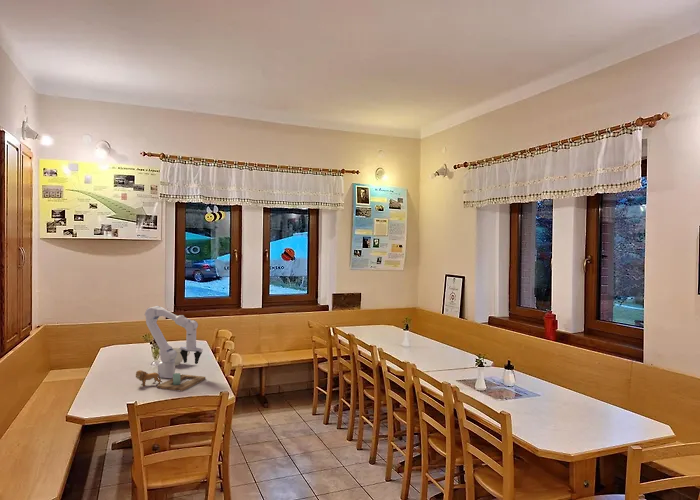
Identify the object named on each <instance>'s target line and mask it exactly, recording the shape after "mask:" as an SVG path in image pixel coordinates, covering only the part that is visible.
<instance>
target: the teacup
mask: <svg viewBox="0 0 700 500" xmlns="http://www.w3.org/2000/svg"><path fill="white" fill-rule="evenodd" d="M172 348H173V349H174V350H175V351H176V352H177V357H176V358H175V367H176V366H180V365H181V363H182V362H183V357H182V355H181V354H180V352H181V351H180V347H172ZM190 352H191V351H188V354H187V357H188V356H189V355H190V354H191V353H190Z"/></svg>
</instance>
